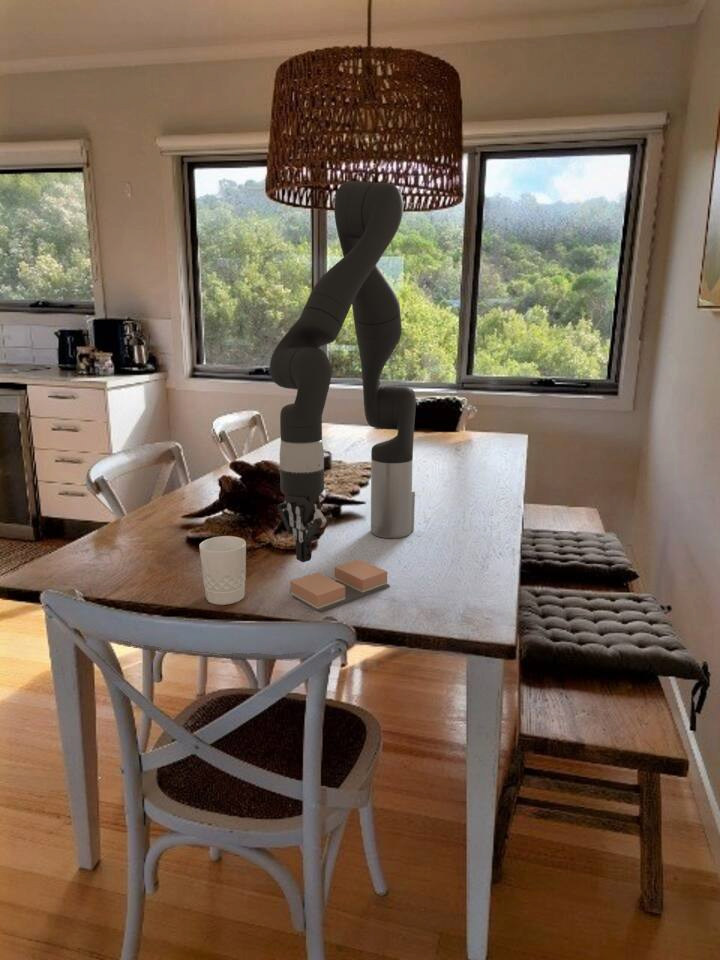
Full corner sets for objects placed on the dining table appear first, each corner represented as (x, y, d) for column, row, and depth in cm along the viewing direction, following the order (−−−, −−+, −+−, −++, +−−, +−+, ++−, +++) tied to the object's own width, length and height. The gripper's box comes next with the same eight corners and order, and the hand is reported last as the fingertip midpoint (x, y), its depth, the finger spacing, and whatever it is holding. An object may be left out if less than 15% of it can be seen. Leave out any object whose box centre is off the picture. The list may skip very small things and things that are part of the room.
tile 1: (317, 572, 116) (345, 586, 110) (317, 584, 117) (345, 598, 111) (290, 581, 112) (317, 595, 107) (290, 593, 113) (317, 608, 107)
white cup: (193, 599, 112) (189, 545, 109) (225, 584, 118) (223, 533, 115) (225, 610, 107) (222, 555, 105) (257, 594, 114) (255, 541, 111)
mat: (361, 573, 123) (361, 571, 123) (389, 586, 117) (389, 584, 117) (292, 596, 113) (292, 594, 112) (320, 612, 107) (320, 610, 107)
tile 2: (358, 559, 123) (387, 571, 117) (358, 570, 123) (387, 583, 117) (334, 566, 119) (362, 580, 113) (334, 578, 119) (362, 592, 114)
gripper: (343, 469, 106) (343, 566, 111) (297, 456, 116) (299, 545, 121) (307, 476, 102) (308, 577, 106) (262, 461, 111) (265, 554, 116)
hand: (303, 560), depth 113 cm, fingers closed
